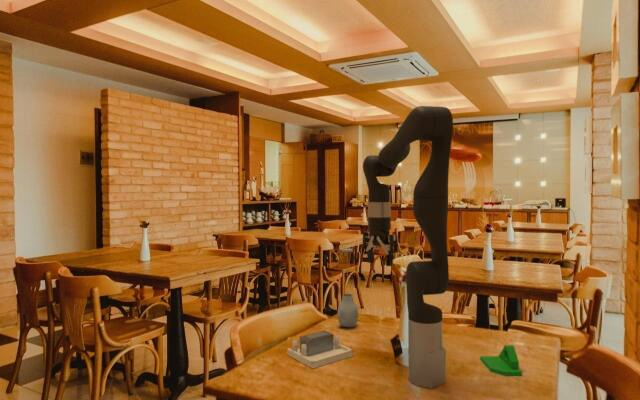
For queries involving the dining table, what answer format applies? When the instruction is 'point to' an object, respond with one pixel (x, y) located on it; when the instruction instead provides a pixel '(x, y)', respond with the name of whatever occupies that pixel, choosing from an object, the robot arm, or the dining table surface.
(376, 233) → the robot arm
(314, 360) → the tray
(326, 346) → the block
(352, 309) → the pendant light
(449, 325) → the dining table surface
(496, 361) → the bracket
